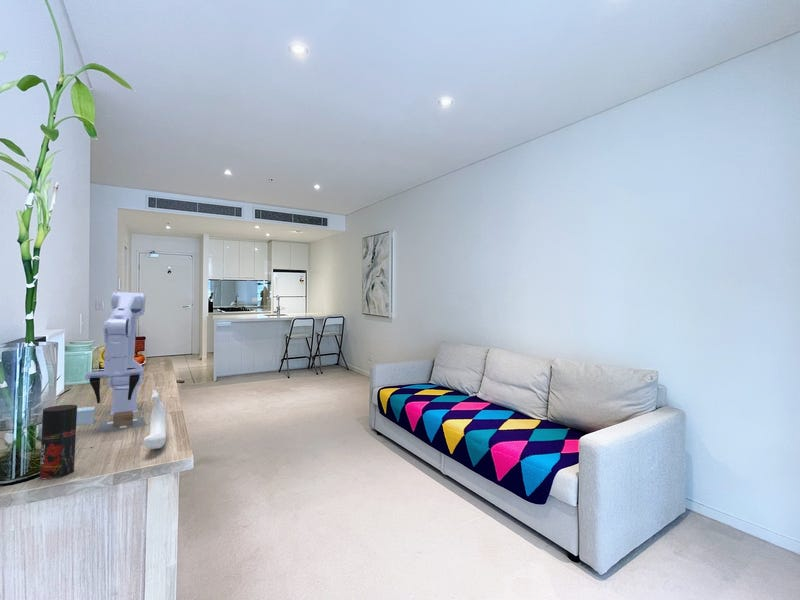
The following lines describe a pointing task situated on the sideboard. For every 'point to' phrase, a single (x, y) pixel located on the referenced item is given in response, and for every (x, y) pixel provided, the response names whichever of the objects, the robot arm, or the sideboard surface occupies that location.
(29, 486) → the sideboard surface
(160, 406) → the white curved piece
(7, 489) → the sideboard surface
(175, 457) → the sideboard surface
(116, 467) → the sideboard surface
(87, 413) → the blue cube
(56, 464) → the deodorant
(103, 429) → the letter card
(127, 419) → the walnut block
